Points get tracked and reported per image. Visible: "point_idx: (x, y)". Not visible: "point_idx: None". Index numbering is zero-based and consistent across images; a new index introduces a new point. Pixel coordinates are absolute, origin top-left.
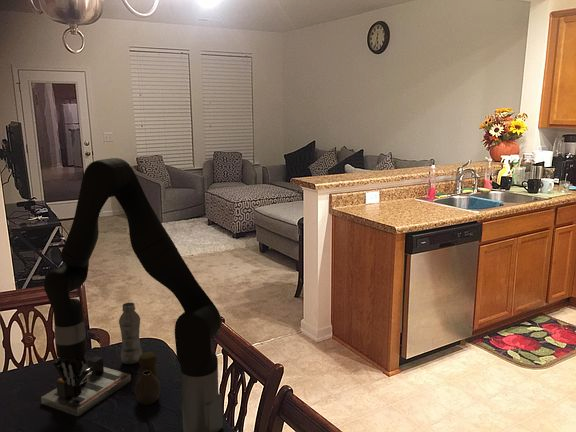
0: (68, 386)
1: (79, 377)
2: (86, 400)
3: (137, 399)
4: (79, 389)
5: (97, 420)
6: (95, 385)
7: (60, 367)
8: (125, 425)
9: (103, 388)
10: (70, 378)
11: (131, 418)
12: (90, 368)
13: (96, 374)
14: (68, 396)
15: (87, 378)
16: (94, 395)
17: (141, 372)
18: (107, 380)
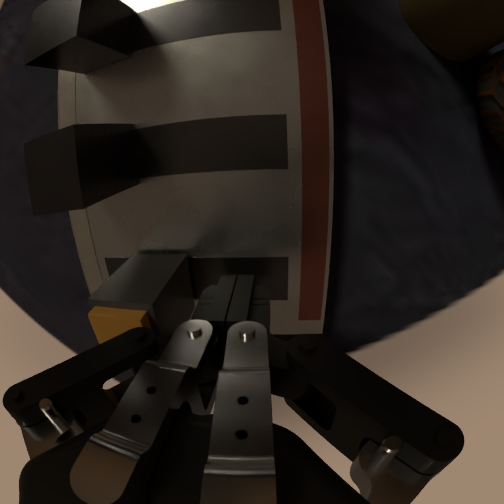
0: (172, 317)
1: (334, 444)
2: (305, 266)
3: (501, 146)
4: (269, 317)
5: (408, 294)
6: (217, 124)
7: (85, 428)
8: (497, 267)
9: (295, 124)
10: (210, 402)
11: (501, 229)
12: (446, 465)
13: (128, 53)
14: (191, 289)
15: (352, 362)
16: (308, 210)
17: (502, 18)
18: (237, 46)
